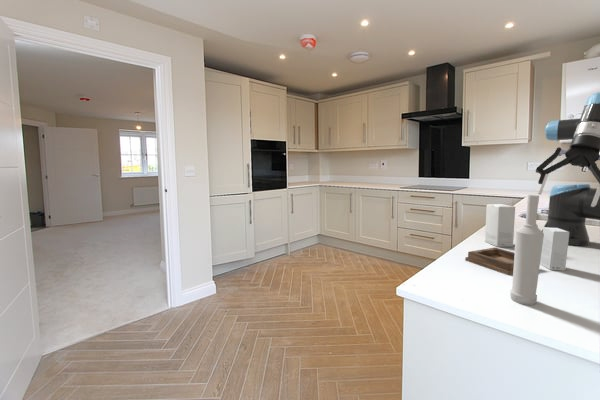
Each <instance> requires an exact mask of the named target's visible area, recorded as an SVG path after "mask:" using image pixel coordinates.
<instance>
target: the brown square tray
mask: <svg viewBox="0 0 600 400" xmlns="http://www.w3.org/2000/svg"><path fill="white" fill-rule="evenodd" d="M514 255H515V251H514V252H513V251H510V250H506V249H503V248H500V247H491V248H490V247H489V248H483V249H477V250H472V251H468V253H467V257H464V258H465V262H469V263H472V264H475V265H478V266H481V267H484V268H486V269H490V270H492V271H496V272H497V273H498V272H499V273H501V274H504V275H507V276H509V275H513V269H514Z"/></svg>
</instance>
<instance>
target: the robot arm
mask: <svg viewBox="0 0 600 400" xmlns="http://www.w3.org/2000/svg"><path fill="white" fill-rule="evenodd" d="M544 137H545V138H546V139H547V140H548V141H571V142H570V145H569V147H568V149H567V150H566V149H563V148H562V147H560V146H558V147H557V148H556V150H555V151H554V153H552V154H551V155H550V156H549V157H548V158H547V159H546V160H544V161H543V162H542V163H540V165H538V166H537V167H536V169H535V173H538V174H539V175H540V177H539V180H538V181H537V183H538V184H539V185H540V188H539V191H538V195H539V196H540V195H542V193H543V191H544V189H545V188H544V187H545V185H546V182H547V179H548V177H549V174H551V173H553V172H555V171H557V170H558V169H560V168H562V167H564V166H567V165H571V166H575V167H580V168H587V169H588V171H590V172H591V174H592V175H593V176H594V178H595V179H596V181H597V182H598V184H599V185H598V186H597V188H595V187H594V188H593V187H591V186H590V183H587V184H585V183H584V184H583V183H581V184H580V183H579V184H564V185H563V184H562V185H559V184H558V185H553V186H552V187H551V190H550V194H549V197H548V198H549V202H548V213H547V221H546V222H545V224H544V226H543V227H548V228H559V229H562V230H565V231H568V232H569V241H568V246H588V245H589V243H590V235H589V233H588V230H587V227H586V220H587V219H589V220H597V221H600V168H599V167H598V165H597V163H596V162H597V161H600V92H595V93H593V94H591V95H590V96H589V97H588V99H587V101H586V102H585V104H584V107H583V110H582V113H581V116H580V118H570V119H557V120H551V121H549V122H548V123H547V124H546V126H545V129H544ZM563 155H565V158H564V159H562V160H561V161H560V160H559V162H557V163H554V164H553V165H551V166H549V165H550V164H551V163H553V162H554V160H555V159H557V157H560V156H563ZM547 166H548V167H547ZM546 167H547V168H546ZM541 231H542V232H543V229H542V230H541Z"/></svg>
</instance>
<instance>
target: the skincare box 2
mask: <svg viewBox="0 0 600 400" xmlns="http://www.w3.org/2000/svg"><path fill="white" fill-rule="evenodd" d="M542 230H543V233H544V238H543V245H542V253H541V260H540V266H543V267H545V268H546V269H548V270H550V271H561V272H563V271H566V266H567V257H568V256H567V255H568V250H569V249H568V248H569V245H568V241H569V232H568V231H565V230H562V229H559V228H548V227H544V226H543V228H542Z"/></svg>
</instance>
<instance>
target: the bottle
mask: <svg viewBox="0 0 600 400" xmlns="http://www.w3.org/2000/svg"><path fill="white" fill-rule="evenodd" d="M526 201H527V205H526V214H525V222H524V223H523V226H521V227H518V229H516V230H515V245H514V253H515V255H514V269H513V274H512V285H511V289H510V296H509V297H510V299H511V300H512V301H513V302H515V303H518V304H522V305H526V306H533V305H535V304H536V303H537V300H538V295H537V288H538V281H539V273H540V266H541V264H540V260H541V253H542V245H543V238H544V233H543V232H542V230H541V229H540V228H539V226H538V225H537V217H538V209H539V208H538V207H539V203H540V202H539V201H540V195H539V194H538V195H537V194H528V195H527V200H526Z"/></svg>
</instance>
